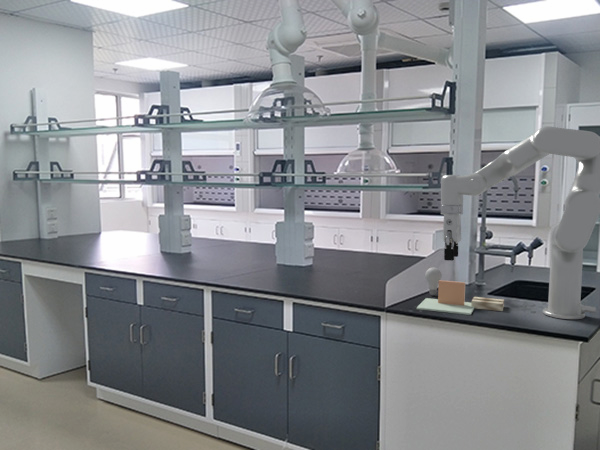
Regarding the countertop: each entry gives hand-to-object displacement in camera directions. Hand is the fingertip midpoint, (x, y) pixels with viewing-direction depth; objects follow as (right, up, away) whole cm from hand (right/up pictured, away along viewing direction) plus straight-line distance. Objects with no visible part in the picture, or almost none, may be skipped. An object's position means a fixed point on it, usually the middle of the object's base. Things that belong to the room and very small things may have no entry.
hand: (451, 258), depth 190 cm
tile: (-4, -12, +3) cm, 13 cm away
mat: (-2, -17, -1) cm, 17 cm away
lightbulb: (-2, -16, +17) cm, 23 cm away
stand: (+12, -17, -1) cm, 21 cm away
